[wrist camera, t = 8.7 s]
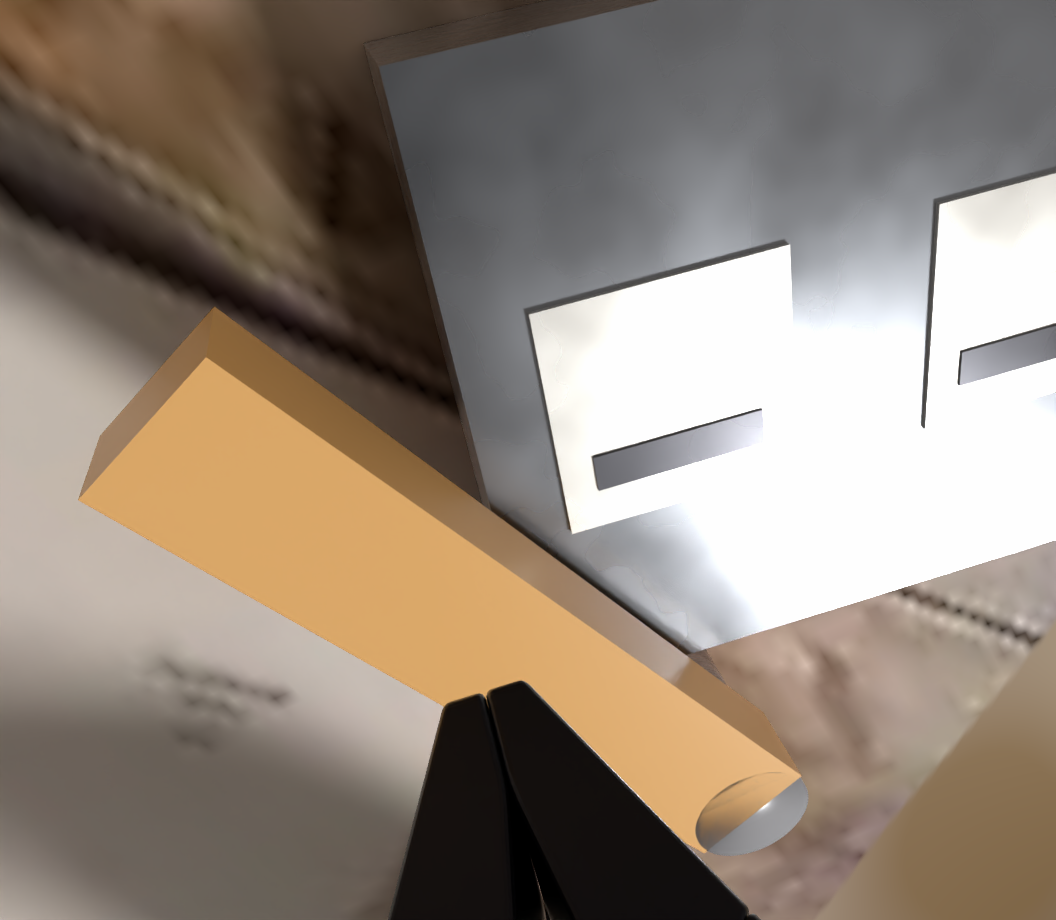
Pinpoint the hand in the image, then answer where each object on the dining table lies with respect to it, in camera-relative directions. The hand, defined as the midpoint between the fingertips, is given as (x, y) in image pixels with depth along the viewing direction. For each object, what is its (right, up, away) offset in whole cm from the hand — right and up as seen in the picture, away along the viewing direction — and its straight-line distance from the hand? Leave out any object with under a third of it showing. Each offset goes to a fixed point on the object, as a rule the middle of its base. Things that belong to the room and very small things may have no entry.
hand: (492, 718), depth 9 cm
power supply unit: (+7, +5, +13) cm, 15 cm away
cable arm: (0, -1, +10) cm, 10 cm away
